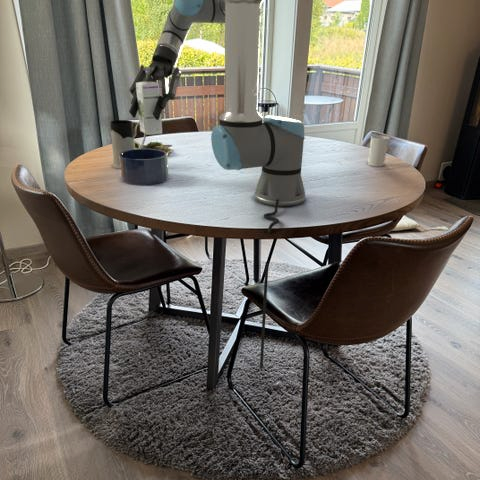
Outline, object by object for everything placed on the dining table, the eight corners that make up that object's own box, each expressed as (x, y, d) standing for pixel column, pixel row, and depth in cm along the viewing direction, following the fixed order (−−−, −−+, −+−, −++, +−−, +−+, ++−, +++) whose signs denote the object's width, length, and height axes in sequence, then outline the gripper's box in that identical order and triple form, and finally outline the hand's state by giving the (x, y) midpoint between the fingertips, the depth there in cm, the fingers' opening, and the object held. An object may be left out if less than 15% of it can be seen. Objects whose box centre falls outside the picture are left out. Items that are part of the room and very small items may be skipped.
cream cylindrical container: (386, 166, 186) (391, 139, 181) (369, 166, 186) (373, 138, 181) (382, 162, 192) (386, 135, 187) (365, 162, 192) (369, 135, 187)
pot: (166, 185, 160) (165, 160, 156) (118, 184, 159) (115, 159, 155) (170, 172, 173) (168, 148, 169) (125, 172, 172) (123, 148, 168)
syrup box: (163, 133, 156) (160, 83, 149) (145, 135, 154) (141, 84, 146) (156, 130, 161) (153, 81, 153) (139, 131, 158) (135, 81, 150)
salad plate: (162, 145, 208) (162, 134, 206) (184, 154, 196) (184, 142, 193) (120, 151, 198) (118, 139, 196) (139, 160, 186) (138, 148, 184)
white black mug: (108, 165, 179) (103, 121, 172) (140, 159, 188) (137, 117, 180) (122, 170, 174) (117, 125, 166) (154, 163, 183) (151, 120, 175)
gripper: (200, 64, 156) (177, 126, 152) (144, 60, 163) (121, 120, 158) (191, 45, 149) (168, 110, 145) (133, 42, 156) (109, 104, 151)
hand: (143, 115), depth 152 cm, fingers closed on syrup box, 8 cm apart
